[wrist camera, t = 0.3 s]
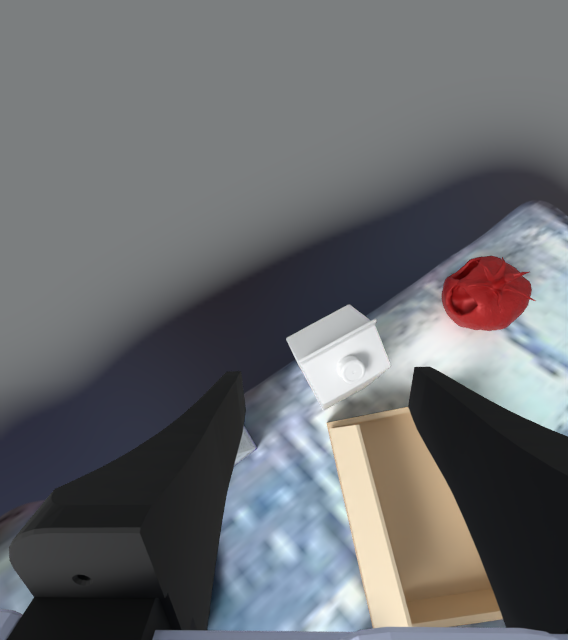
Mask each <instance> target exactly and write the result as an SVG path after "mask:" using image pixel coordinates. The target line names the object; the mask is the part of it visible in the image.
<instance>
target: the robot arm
mask: <svg viewBox="0 0 568 640" xmlns="http://www.w3.org/2000/svg"><path fill="white" fill-rule="evenodd" d="M408 408H409V411H410V413H411V416H412V418H413V421H414V423H415V426H416V428H417V430H418V432H419V434H420V436H421V438H422V440H423V441H424V443H425V445H426V447H427V449H428V450H429V452H430V454H431V456H432V457H433V459H434V461H435V463H436V464H437V466H438V468H439V470H440V471H441V473H442V475H443V477H444V478H445V480H446V482H447V484H448V486H449V488H450V490H451V492H452V494H453V496H454V498H455V500H456V502H457V505H458V507H459V509H460V511H461V514H462V516H463V518H464V520H465V523H466V525H467V527H468V530H469V532H470V535H471V537H472V539H473V542H474V544H475V547H476V549H477V551H478V554H479V556H480V559H481V561H482V564H483V567H484V569H485V572H486V574H487V577H488V579H489V582H490V585H491V587H492V590H493V592H494V595H495V598H496V600H497V603H498V606H499V609H500V612H501V614H502V617H503V620H504V623H505V626H506V628H474V627H380V628H372V629H364V630H359V631H357V632H303V631H207V626H208V618H209V610H210V602H211V594H212V587H213V580H214V572H215V565H216V558H217V551H218V545H219V538H220V532H221V525H222V519H223V513H224V507H225V501H226V496H227V491H228V487H229V482H230V479H231V475H232V471H233V467H234V464H235V460H236V456H237V452H238V449H239V445H240V441H241V437H242V433H243V427H244V420H245V412H246V409H245V400H244V392H243V384H242V376H241V372H240V371H236V372H226V373H225V374H224V375H223V376H222V377H221V378H220V379H219V380H218V381H217V382H216V383H215V384H214V385H213V386H212V387H211V388H210V389H209V390H208V391H207V392H206V394H204V395H203V396H202V397H201V398H200V399H199V400H198V401H197V402H196V403H195V404H194V405H193V406H192V407H191V408H190V409H188V410H187V411H186V412H185V413H184V414H183V415H182V416H180V417H179V418H178V419H177V420H175V421H174V422H173V423H172V424H170V425H169V426H167V427H166V428H165V429H163V430H162V431H161V432H159V433H158V434H156V435H155V436H153V437H152V438H150V439H149V440H147V441H146V442H144V443H143V444H141V445H139V446H138V447H137V448H135V449H133V450H132V451H130V452H128V453H126V454H125V455H123V456H121V457H119V458H118V459H116V460H114V461H112V462H110V463H108V464H107V465H105V466H103V467H101V468H99V469H97V470H95V471H93V472H91V473H89V474H87V475H85V476H82V477H80V478H78V479H76V480H74V481H72V482H70V483H67V484H65V485H63V486H61V487H59V488H56V489H55V490H54V491H53V492H52V493H51V494H50V496H49V497H48V498H47V499H46V500H45V502H44V503H43V504H42V505H41V506H40V508H39V509H38V510H37V511H36V512H35V514H34V515H33V516H32V517H31V519H30V520H29V521H28V522H27V523H26V525H25V526H24V527H23V528H22V529H21V531H20V532H19V533H18V534H17V536H16V537H15V538H14V539H13V541H12V543H11V545H10V547H9V558H10V562H11V564H12V566H13V568H14V570H15V571H16V572H17V574H18V575H19V577H20V578H21V579H22V581H23V582H24V584H25V585H26V586H27V588H28V589H29V590H30V592H31V593H32V595H33V596H34V598H33V600H32V602H31V603H30V605H29V606H28V608H27V609H26V611H25V612H24V614H23V615H22V614H21V613H18V612H16V611H13V610H6V609H0V640H568V437H567V436H565V435H562V434H560V433H557V432H555V431H552V430H550V429H548V428H545V427H543V426H541V425H539V424H536V423H534V422H532V421H530V420H528V419H525V418H523V417H521V416H519V415H517V414H515V413H513V412H511V411H509V410H507V409H505V408H503V407H501V406H499V405H497V404H495V403H493V402H491V401H490V400H488V399H486V398H484V397H482V396H481V395H479V394H477V393H475V392H474V391H472V390H470V389H468V388H467V387H465V386H463V385H461V384H460V383H458V382H456V381H455V380H453V379H451V378H450V377H448V376H446V375H444V374H443V373H441V372H439V371H437V370H435V369H433V368H431V367H415V368H414V374H413V380H412V387H411V393H410V399H409V405H408Z"/></svg>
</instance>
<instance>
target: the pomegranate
mask: <svg viewBox="0 0 568 640" xmlns="http://www.w3.org/2000/svg"><path fill="white" fill-rule="evenodd" d="M526 273H529V272H521V273H520V272H519V271H518V270H517V269H516V268H515V267H513V266H512V265H510V264H508V263H505V261H504V259H503V257H502V259H500V258H498V257H495V256H487V257H477V258H474V259H471V260H469V261H468V262H467V263H466V264H465V265H464V266H463V267H462V268H461V269H460V270H459V271H457V272H456V273H454V274H452V275H451V276H449V277H447V278H446V280H445V282H444V285H443V291H442V302H443V306H444V309H445V311H446V312H447V314H448V316H449V317H450V318H451V319H452V320H453V321H454V322H455V323H456V324H457V325H459V326H461V327H466V328H470V329H474V330H487V331H491V330H498V329H504V328H506V327H508V326H509V325H510V324H511V323H512V322H513V321H514V320H516V319H517V318H518V317H519V316H520V315H521V314H522V313H523V312H524V310H525V309H526V307H527V306H528V303H529V299H531V300H533V299H532V298H530V296H531V291H532V289H531V284H530V282H529V281H528V280H527V279H525V278H524V277H523V276H522V275H524V274H526ZM533 301H536V300H533Z"/></svg>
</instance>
